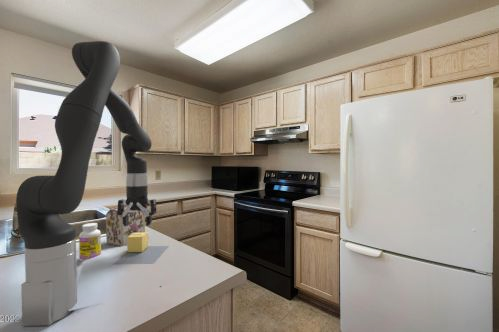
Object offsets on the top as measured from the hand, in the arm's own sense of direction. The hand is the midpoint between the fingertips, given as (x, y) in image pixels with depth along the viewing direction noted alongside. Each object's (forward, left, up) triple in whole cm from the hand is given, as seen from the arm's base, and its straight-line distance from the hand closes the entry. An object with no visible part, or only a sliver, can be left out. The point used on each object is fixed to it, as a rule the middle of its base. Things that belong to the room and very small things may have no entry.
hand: (137, 225), depth 89 cm
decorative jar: (+14, +12, -11) cm, 22 cm away
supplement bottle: (-4, +16, -11) cm, 20 cm away
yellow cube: (0, 0, -10) cm, 10 cm away
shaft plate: (-4, -4, -11) cm, 12 cm away
